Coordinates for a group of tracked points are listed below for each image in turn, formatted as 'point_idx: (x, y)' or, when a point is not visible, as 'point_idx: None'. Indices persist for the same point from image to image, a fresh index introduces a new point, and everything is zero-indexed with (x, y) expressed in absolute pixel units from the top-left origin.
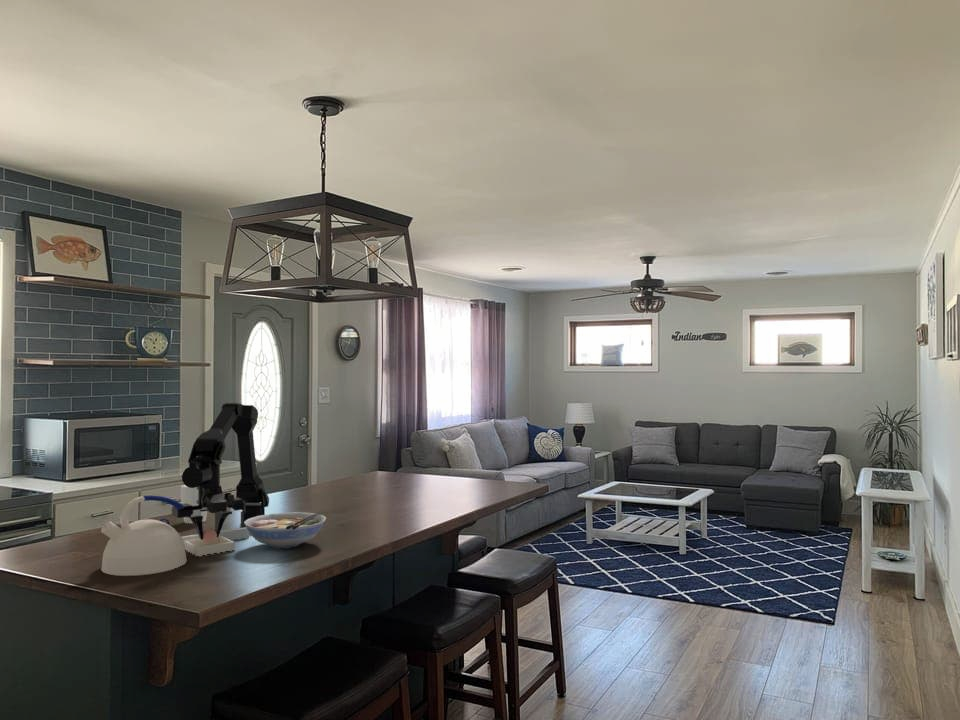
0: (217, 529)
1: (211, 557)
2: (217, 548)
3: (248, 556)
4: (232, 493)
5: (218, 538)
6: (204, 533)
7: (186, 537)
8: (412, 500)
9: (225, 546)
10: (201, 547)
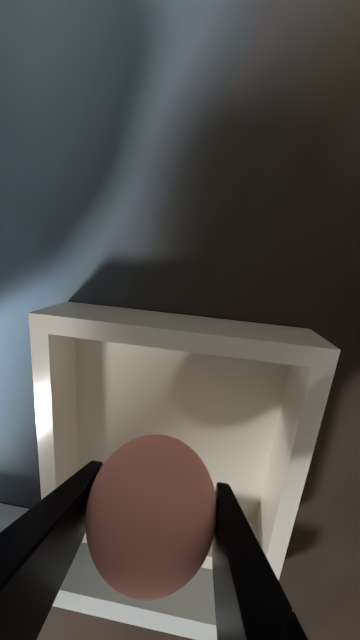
0: (64, 522)
1: (251, 243)
2: (168, 322)
3: (51, 65)
4: None
5: None
6: (205, 523)
7: None
8: None
9: (109, 316)
10: (298, 344)
